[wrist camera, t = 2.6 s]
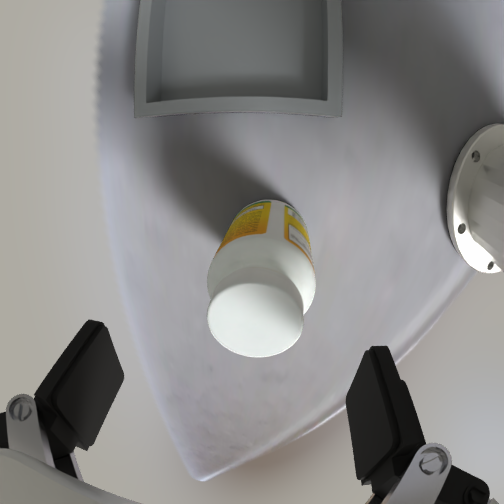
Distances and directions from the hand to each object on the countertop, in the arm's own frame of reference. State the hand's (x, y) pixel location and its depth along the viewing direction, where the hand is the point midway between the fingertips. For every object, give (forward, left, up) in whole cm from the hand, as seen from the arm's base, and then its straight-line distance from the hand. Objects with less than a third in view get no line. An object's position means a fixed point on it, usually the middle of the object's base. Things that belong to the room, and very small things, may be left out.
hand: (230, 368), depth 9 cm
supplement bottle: (0, -1, -12) cm, 12 cm away
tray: (+9, -12, -12) cm, 19 cm away
